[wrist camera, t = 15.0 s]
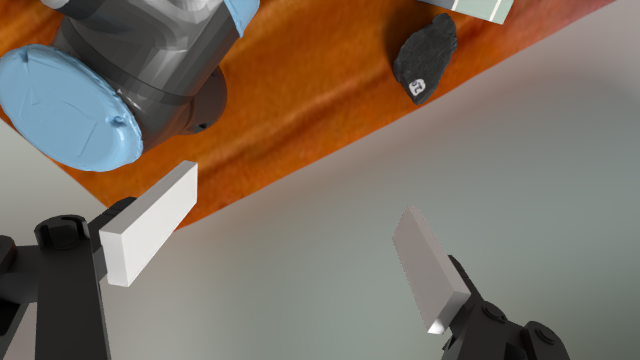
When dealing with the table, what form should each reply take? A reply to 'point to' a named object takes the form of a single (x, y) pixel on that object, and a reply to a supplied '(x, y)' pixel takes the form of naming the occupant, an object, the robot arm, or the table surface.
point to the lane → (477, 8)
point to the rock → (426, 58)
